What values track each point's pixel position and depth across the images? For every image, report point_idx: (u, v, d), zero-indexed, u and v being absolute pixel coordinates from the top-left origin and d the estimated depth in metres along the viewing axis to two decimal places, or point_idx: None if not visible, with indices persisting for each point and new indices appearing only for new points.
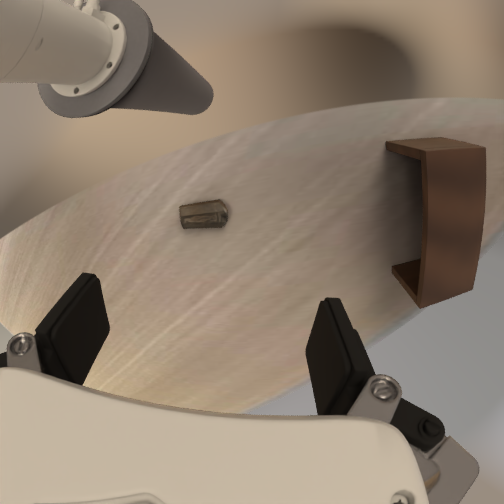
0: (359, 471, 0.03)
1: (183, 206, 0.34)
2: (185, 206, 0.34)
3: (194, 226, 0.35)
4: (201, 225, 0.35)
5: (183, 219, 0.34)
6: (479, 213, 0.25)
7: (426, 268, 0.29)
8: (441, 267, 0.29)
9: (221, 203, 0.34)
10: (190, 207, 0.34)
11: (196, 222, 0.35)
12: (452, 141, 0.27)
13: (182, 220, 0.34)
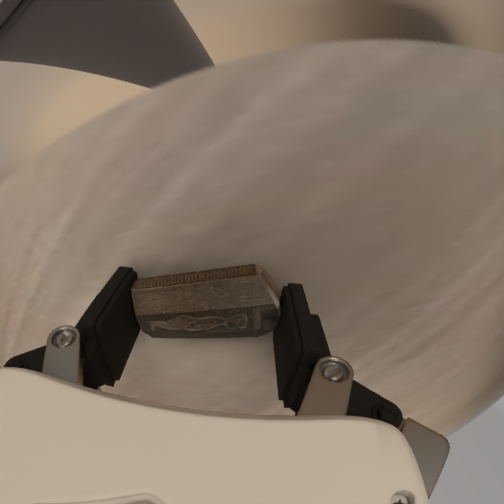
0: (359, 471, 0.03)
1: (143, 284, 0.11)
2: (149, 284, 0.11)
3: (181, 336, 0.12)
4: (201, 335, 0.12)
5: (146, 323, 0.11)
6: None
7: None
8: None
9: (264, 278, 0.11)
10: (165, 291, 0.10)
11: (186, 330, 0.11)
12: None
13: (144, 324, 0.11)
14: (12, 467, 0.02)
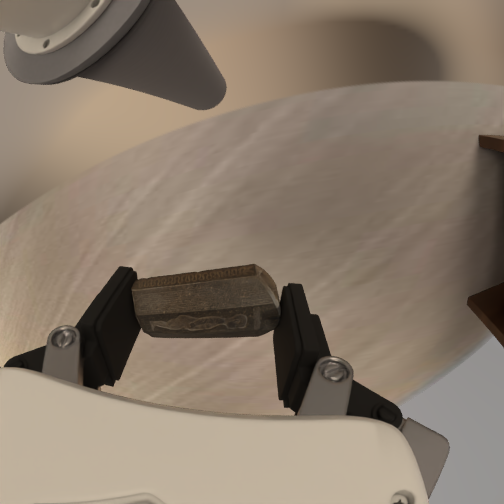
0: (359, 471, 0.03)
1: (144, 284, 0.11)
2: (149, 284, 0.11)
3: (181, 336, 0.12)
4: (201, 335, 0.12)
5: (146, 322, 0.11)
6: None
7: None
8: None
9: (263, 278, 0.11)
10: (165, 290, 0.10)
11: (186, 330, 0.11)
12: None
13: (144, 324, 0.11)
14: (12, 467, 0.02)
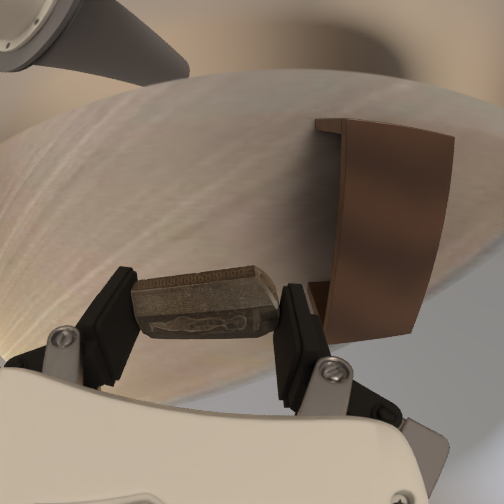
0: (359, 471, 0.03)
1: (143, 285, 0.11)
2: (149, 286, 0.11)
3: (180, 337, 0.12)
4: (200, 336, 0.12)
5: (145, 324, 0.11)
6: (433, 229, 0.20)
7: (335, 293, 0.23)
8: (361, 295, 0.23)
9: (263, 280, 0.11)
10: (164, 292, 0.10)
11: (185, 331, 0.11)
12: None
13: (144, 325, 0.11)
14: (12, 467, 0.02)
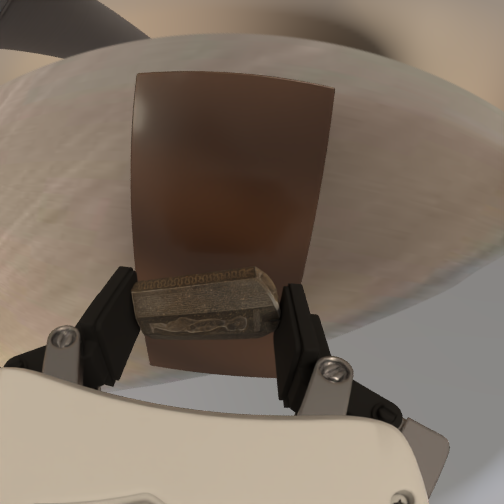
0: (359, 471, 0.03)
1: (143, 286, 0.11)
2: (149, 286, 0.11)
3: (181, 338, 0.12)
4: (201, 337, 0.12)
5: (146, 324, 0.11)
6: (291, 236, 0.15)
7: None
8: None
9: (263, 281, 0.11)
10: (165, 293, 0.10)
11: (186, 332, 0.11)
12: None
13: (144, 326, 0.11)
14: (12, 467, 0.02)
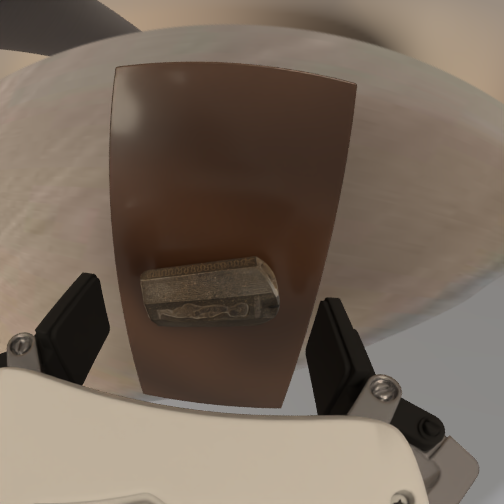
0: (359, 471, 0.03)
1: (152, 274, 0.12)
2: (157, 275, 0.12)
3: (186, 324, 0.13)
4: (205, 323, 0.13)
5: (153, 311, 0.12)
6: (301, 263, 0.13)
7: (130, 334, 0.15)
8: (172, 347, 0.15)
9: (263, 269, 0.12)
10: (172, 280, 0.11)
11: (191, 318, 0.12)
12: None
13: (152, 313, 0.12)
14: (12, 467, 0.02)
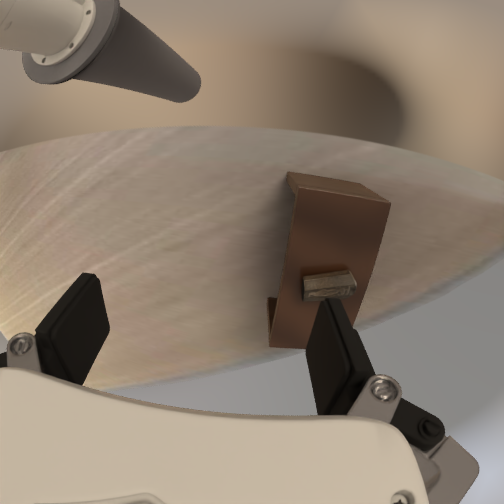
0: (359, 471, 0.03)
1: (308, 278, 0.28)
2: (311, 278, 0.28)
3: (317, 299, 0.29)
4: None
5: (307, 293, 0.28)
6: (363, 272, 0.29)
7: (279, 309, 0.31)
8: (299, 313, 0.32)
9: (351, 275, 0.28)
10: (318, 280, 0.28)
11: (321, 296, 0.29)
12: (360, 188, 0.31)
13: (306, 294, 0.29)
14: (12, 467, 0.02)
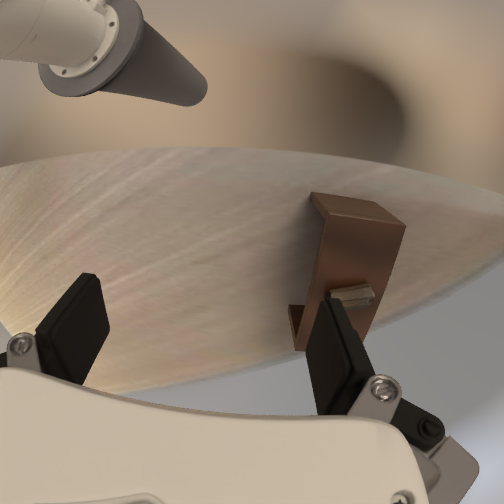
0: (359, 471, 0.03)
1: (334, 291, 0.32)
2: (336, 291, 0.32)
3: None
4: (347, 308, 0.33)
5: None
6: (379, 284, 0.33)
7: (306, 318, 0.35)
8: None
9: (370, 288, 0.32)
10: (342, 293, 0.32)
11: (345, 306, 0.32)
12: (378, 209, 0.34)
13: None
14: (12, 467, 0.02)
